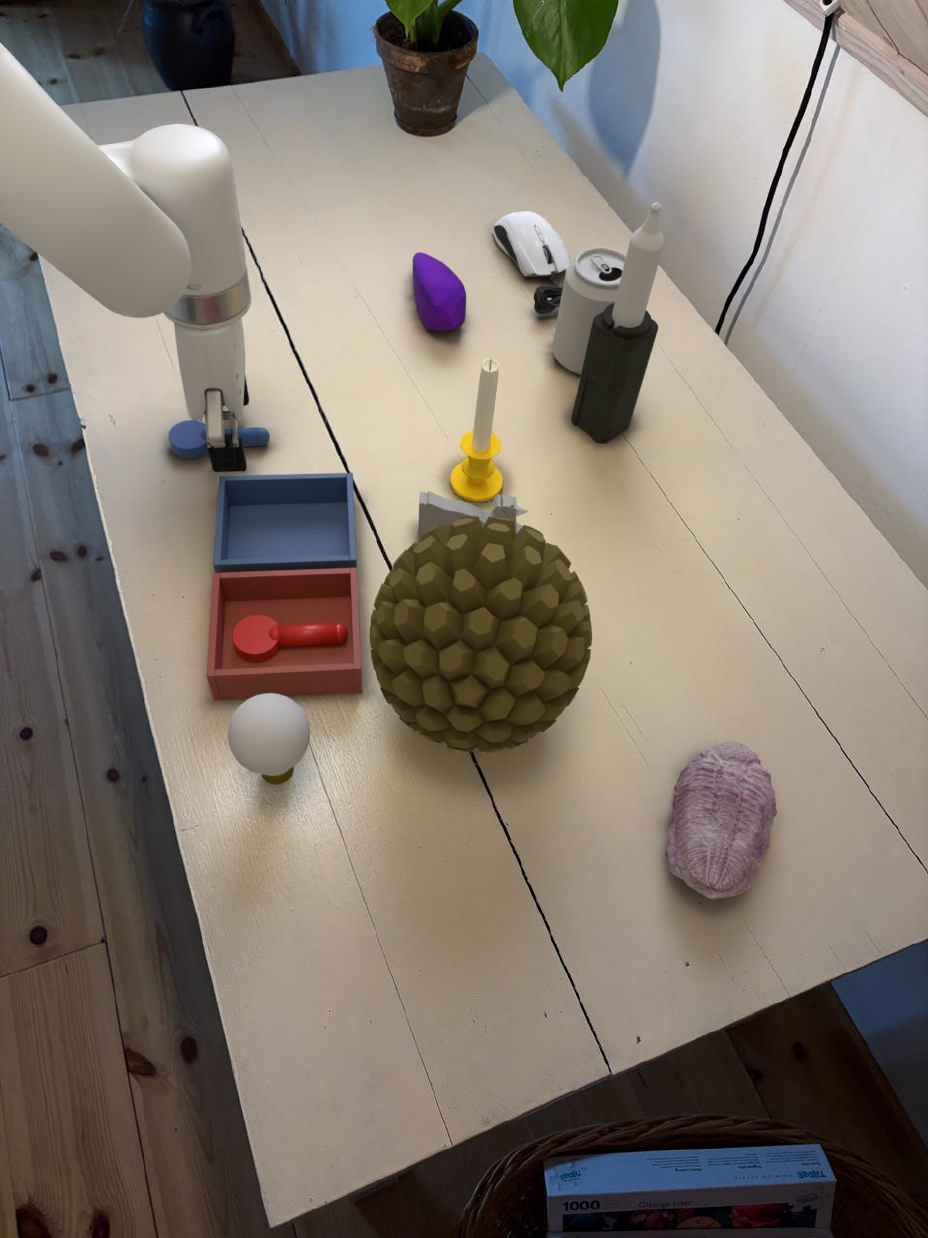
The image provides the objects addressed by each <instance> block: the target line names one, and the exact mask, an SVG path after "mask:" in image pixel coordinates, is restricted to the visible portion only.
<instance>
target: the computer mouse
mask: <svg viewBox="0 0 928 1238" xmlns="http://www.w3.org/2000/svg"><path fill="white" fill-rule="evenodd" d="M492 235H493V237H494V241H495V242H496V244H497V246H498V247H499V248H500V249H501V250H502V251H503V252H504V253H505V254H506V255H507V256H508V257H509V258H510V259H511V260H512V261H513V262H514V263H515V264H516V266H517V267H518V268H519V271H520V272H521V274H522V275H523V276H524V277H547V278H548V280H549V281H550V282H551V283H553V284H554V286H551V285H538V286H537V287H536V288H535V290H534V293H533V301H534V303H533V308H534V311H535V312H536V313H537V314H538V315H547V314H550V313H551V312H553V311H554V310H555V309H557V308H559V306H560V301H561V296H562V290H563V285H562V286H560V285H559V283H558V282H557V280H556V277H555V275H556V274H560V273H563V271H566V270H567V268H568V266H569V265H570V264H571V263H572V262H571V259H570V256H569V253H568V251H567V248H566V246H565V243H564V241H563V239H562V238H561V236H560V235H559V234H558V233H557V232H556V230H555V228H553V226H552V225H551V224H550V223H549V222H548V221H547V220H546V218H544V217H543V216H542V215H540V214H538V213H536V212H533V211H529V210H522V211H520V210H519V211H514V212H511V213H508V214H506V215H504V216H502V217H500V219H498V220H497V221H496V222H495V223H494V224H493V226H492Z"/></svg>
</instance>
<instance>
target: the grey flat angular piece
mask: <svg viewBox="0 0 928 1238" xmlns="http://www.w3.org/2000/svg"><path fill="white" fill-rule="evenodd" d="M418 496H419V497H418V532H417V533H418V534H417V535H418V536H417V538H418V539H417V541H418V542H417V543H420V542H421V536H422V535H423V534H425V533H426V532H428V531H430V530H431V529H433V528H435V527H436V526H438V525H440V524H441V525H442V526H443V525H451V524H452V523H453V522H455V521H456V520H457V519H459V518H461V517H468V516H477V517H479V519H480V522H481V525H482V528H483V526H484V524H485V523H486V521H487V519H488V517H489V516H491V517H499V518H505V519H509V520H513V521H514V526H515V533H516V534H517V533H518V531H519V530H520V529H521V528H522V526H523V525H522V524H520V523H518V522H517V517H519V516H522V515H524V514H527V513H529V512H530V511H529V510H527V509H524V508H523V507H521V506H519V505H518V503H517V502H518V501H517V497H515V496H511V494H502V495H501V494H498V495H496V496H495V498H493V499H492V500H493V502H492V503H493V504H492V505H493V508H492V510H491V511H490V512H486V511H485V510H483V509H481V508H480V507H477V506H476V505H474V504H471V503H468V502H465V501H462V500H458V499H453V498H447V497H443V496H441V495H439V494H437V493H435V492H432V491H430V490H428V491H427V492H425V491H419V495H418Z"/></svg>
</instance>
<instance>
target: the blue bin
mask: <svg viewBox="0 0 928 1238" xmlns="http://www.w3.org/2000/svg"><path fill="white" fill-rule="evenodd" d="M216 497H217V498H216V513H215V527H214V528H215V531H214V547H213V548H214V549H213V561H212V563H213V564H212V565H213V569H214V573H223V572H250V571H278V570H306V569H334V568H357V569H358V561H357V538H356V537H357V535H356V515H355V514H356V513H355V512H356V511H355V492H354V474H353V472H329V473H327V472H326V473H325V472H324V473H290V474H289V473H288V474H287V473H286V474H251V475H250V474H245V475H243V474H242V475H219V476H218V479H217V495H216Z"/></svg>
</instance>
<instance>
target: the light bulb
mask: <svg viewBox="0 0 928 1238" xmlns="http://www.w3.org/2000/svg"><path fill="white" fill-rule="evenodd" d="M310 740H311V726H310V722H309V719H308V716H307V714H306V712H305V711H304V709H303V708H302V707H301V706H300V705H299V704H298V703H297V702H296V701H295V700H293V699H292V698H291V697H286V696H283V695H280V694H274V693H266V694H260V695H257V696H254V697H252V698H250V699H245V700H244V701H243V702H242V703H241V704H240V705H239V706H238V707H237V708H236V709H235V711H234V712H233V715H232V716H231V718H230V721H229V724H228V728H227V742H228V746H229V748H230V752H231V753H232V755H233V757H234V759H235V760H236V761H237V762H238V763H239V764H240V765H241V766H242V767H243V768H244V769H246V770H248V771H250V772H252V773H255V774H258V775H261V778H262V780H263V781H264V782H266V783H267V784H270V785H274V786H275V785H276V786H278V785H282V784H285V783H287V782H288V781H289V780H290V779H291V778H292V777H293V774H294V771H295V766H296V765H297V764H298V763H299V762H300V761H301V760H302V758H303V757H304V756H305V754H306V752H307V750H308V747H309V744H310Z"/></svg>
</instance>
